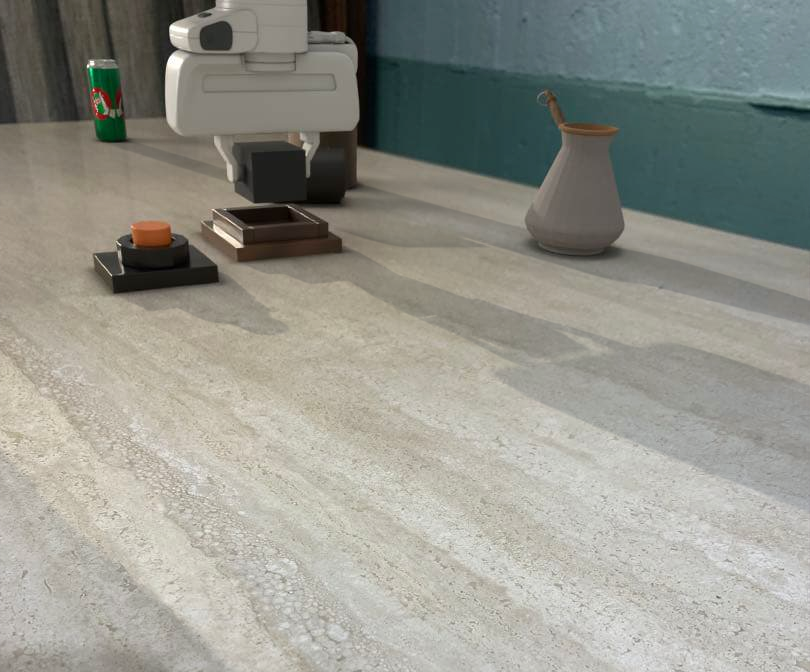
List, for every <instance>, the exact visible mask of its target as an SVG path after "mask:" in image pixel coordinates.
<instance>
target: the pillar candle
mask: <svg viewBox="0 0 810 672" xmlns="http://www.w3.org/2000/svg"><path fill="white" fill-rule="evenodd" d="M356 80H357V81H358V79H357V78H356ZM287 134H288V143H291V144H293V145H295V146H297V147H303V145H304V141H302V140H300V133H287ZM319 147H320V148H327V147H329V148H343V149H344V152H345V158H346V191H347V190H350V189H352V188H354V187H357V184H358V179H357V178H358V177H357V176H358V171H357V170H358V169H357V167H358V124H357V125H356V126H355V128H354V129H353V130H352V131H331V132H320V144H319Z"/></svg>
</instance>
